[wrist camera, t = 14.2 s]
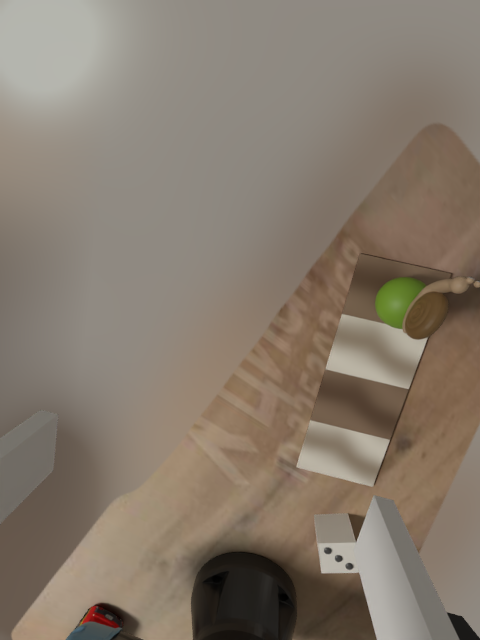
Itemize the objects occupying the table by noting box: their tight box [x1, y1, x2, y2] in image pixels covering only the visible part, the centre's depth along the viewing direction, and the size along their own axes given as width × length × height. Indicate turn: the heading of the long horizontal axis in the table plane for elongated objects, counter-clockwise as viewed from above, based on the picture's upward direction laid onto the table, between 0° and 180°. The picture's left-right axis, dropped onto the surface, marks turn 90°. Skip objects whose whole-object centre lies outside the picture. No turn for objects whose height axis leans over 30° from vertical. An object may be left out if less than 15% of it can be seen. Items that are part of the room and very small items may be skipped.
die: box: [314, 513, 359, 573], centre depth 42 cm, size 4×4×5 cm
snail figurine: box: [375, 277, 480, 340], centre depth 30 cm, size 5×6×12 cm
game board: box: [297, 254, 451, 487], centre depth 39 cm, size 28×10×1 cm, turn 168°
